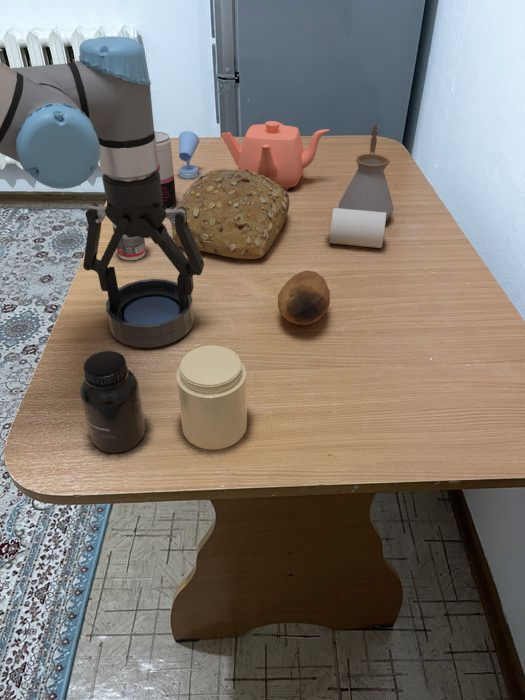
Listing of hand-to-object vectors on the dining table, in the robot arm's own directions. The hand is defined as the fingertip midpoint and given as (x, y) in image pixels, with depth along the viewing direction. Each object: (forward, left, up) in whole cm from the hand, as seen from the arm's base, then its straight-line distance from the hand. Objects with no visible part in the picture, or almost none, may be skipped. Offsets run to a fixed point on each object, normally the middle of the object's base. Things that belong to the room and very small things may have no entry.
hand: (150, 308), depth 89 cm
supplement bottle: (+1, -24, -3) cm, 24 cm away
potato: (+24, +4, -3) cm, 25 cm away
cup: (+34, +30, -3) cm, 45 cm away
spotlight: (-5, +62, -3) cm, 62 cm away
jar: (+13, -21, -3) cm, 25 cm away
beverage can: (-8, +44, -3) cm, 45 cm away
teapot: (+16, +59, -3) cm, 61 cm away
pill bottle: (-9, +22, -3) cm, 24 cm away
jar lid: (0, 0, -1) cm, 1 cm away
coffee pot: (+37, +46, -3) cm, 59 cm away
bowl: (0, 0, -3) cm, 3 cm away
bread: (+9, +32, -3) cm, 33 cm away
